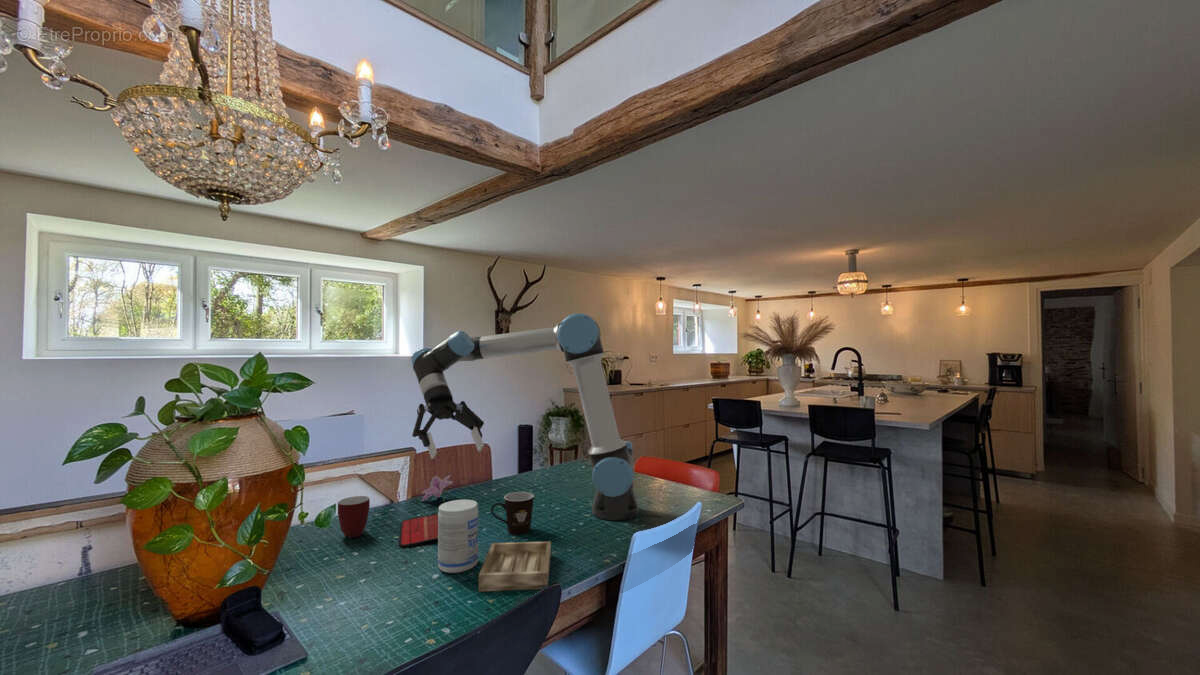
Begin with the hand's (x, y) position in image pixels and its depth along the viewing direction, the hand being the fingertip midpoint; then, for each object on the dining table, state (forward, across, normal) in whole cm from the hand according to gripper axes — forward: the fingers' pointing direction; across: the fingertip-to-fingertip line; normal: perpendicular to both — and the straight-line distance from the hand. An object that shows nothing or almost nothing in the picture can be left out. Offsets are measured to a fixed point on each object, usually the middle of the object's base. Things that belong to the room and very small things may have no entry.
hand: (458, 452), depth 125 cm
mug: (-2, +18, -38) cm, 42 cm away
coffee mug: (+19, -17, -17) cm, 30 cm away
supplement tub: (+26, +5, -10) cm, 28 cm away
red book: (+7, +1, -30) cm, 31 cm away
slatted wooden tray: (+34, -4, -1) cm, 35 cm away
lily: (-10, -12, -46) cm, 49 cm away
